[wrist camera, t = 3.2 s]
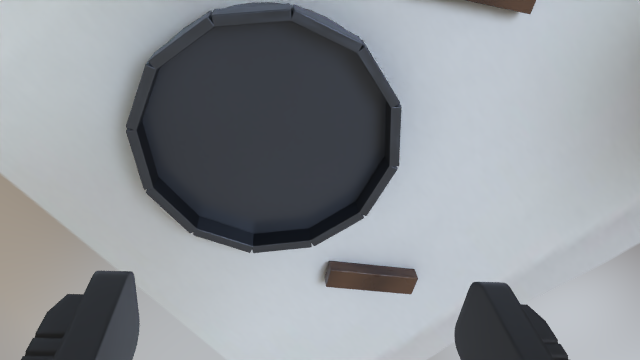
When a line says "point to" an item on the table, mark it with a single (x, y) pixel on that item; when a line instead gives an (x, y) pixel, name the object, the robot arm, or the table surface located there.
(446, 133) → the table surface
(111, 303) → the robot arm
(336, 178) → the plate
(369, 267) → the walnut strips
